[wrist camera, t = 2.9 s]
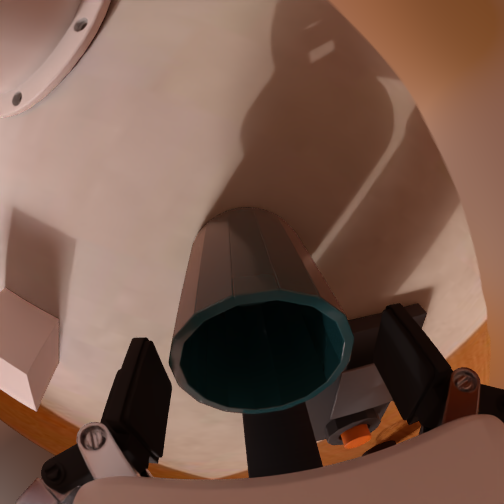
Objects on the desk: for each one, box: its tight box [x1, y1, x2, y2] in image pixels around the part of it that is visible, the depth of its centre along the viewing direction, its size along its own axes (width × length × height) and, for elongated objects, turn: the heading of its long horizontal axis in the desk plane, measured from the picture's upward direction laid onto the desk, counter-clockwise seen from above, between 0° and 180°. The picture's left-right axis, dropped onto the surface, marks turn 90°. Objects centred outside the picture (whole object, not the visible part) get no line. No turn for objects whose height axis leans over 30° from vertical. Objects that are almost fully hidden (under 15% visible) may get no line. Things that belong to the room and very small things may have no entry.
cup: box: [169, 207, 354, 414], centre depth 12 cm, size 6×6×8 cm
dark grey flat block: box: [305, 304, 427, 445], centre depth 21 cm, size 15×18×3 cm
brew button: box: [341, 424, 371, 449], centre depth 22 cm, size 3×3×2 cm
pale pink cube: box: [0, 288, 59, 412], centre depth 14 cm, size 6×6×6 cm
